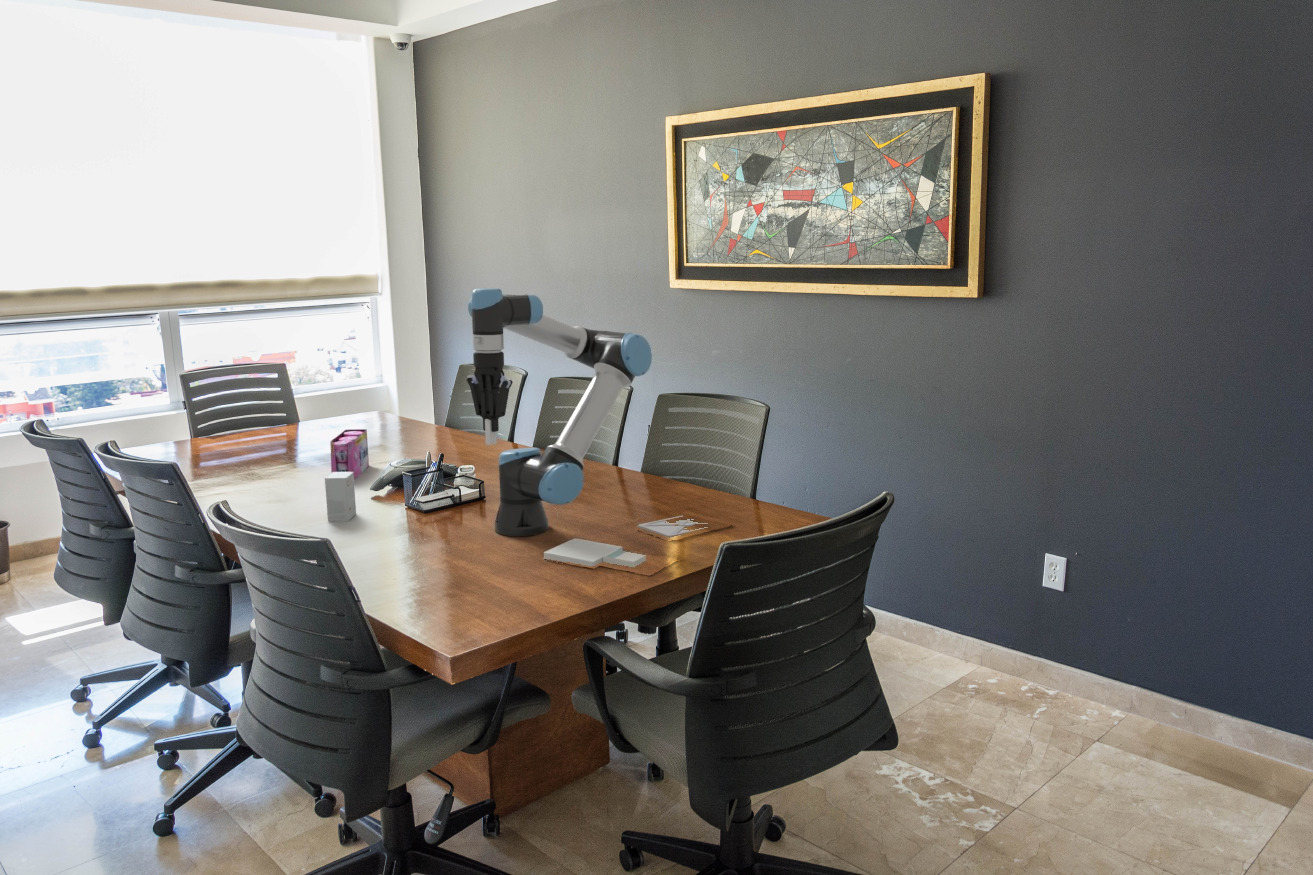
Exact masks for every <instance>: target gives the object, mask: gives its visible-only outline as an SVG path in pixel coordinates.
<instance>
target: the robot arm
mask: <svg viewBox="0 0 1313 875" xmlns="http://www.w3.org/2000/svg"><path fill="white" fill-rule="evenodd" d="M467 305H468V306H467V310H468V313H469V316H470V317H471V322H472V323H471V325H472V348H473V349H472V350H474V352H473V356H472V357H473V358H472V359H473V367H475V369H474V374H473V375H472V376H469V377H467V378H466V381H467V384H468V386H469V388H470V393H471V397H472V403H473V406H474V411H475V415H476V416H478V417H481V418H482V428H483V429H482V430H483V432H484V434H485V445H488V446H492V445H496V444H498V436H497V434H498V432H499V418H502V417H505V416H506V410H507V407H508V399H509V393H510V389H511V386H512V385H513V384H514V383H513V380H512V379H508V378H507V377H506V376H505V372H504V370H503V369H504V368H503V367H504V366H505V353H504V352H503V350H504V349H505V344H504V343H505V342H504V330H507V331H509V332H512V333H515V334H516V335H520V336H523V337H524V338H528V339H530V340H533V341H535V342H538V343H541V344H543V345H544V346H548V347H551V348H553V349H555V350H557V351H561V352H563V354H564V355H565V357H566V358H569V359H571V360H574V361H576V362H578V363H580V364H583V365H585V366H587V367H589V368H591V369H594V372H595V374H594V376H593V378H592V379H591V381H590V383H589V384H588V385H587V388H586V390H585V391H584V393H583V395H582V396H581V399H579V402H578V404H576V407H575V408H574V411H572V414H571V415H570V417H569V419H568V421H567V423H566V424H565V426H564V428H563V430H562V431H561V433H560V435H559V436H558V438H557V440H556V442H555V443H554V444H550V445H547V446H546V448H545V450H544V451H543V453H542V451H541V449H540V448H539V447H522V448H514V449H512V448H511V449H508V450H504V451H502V452H501V453H500V454H499V458H498V474H499V475H498V476H499V477H498V478H499V496H500V498H499V506H498V510H497V513H496V516H495V520H494V531H495V532H496V533H498V534H500V535H501V536H508V537H529V536H536V535H540V534H542V533H545V532H547V531H548V530H549V527H550V526H549V518H548V516H547V514H546V510H545V507H544V503H543V502H545V503H547V504H550V505H558V506H559V505H561V506H562V505H563V506H564V505H567V504H570V503H572V502H573V501H574V500H576V498H577V497H578V496H579V495H580V494H581V492H582V490H583V486H584V479H585V477H584V476H585V475H584V472H583V470H584V469H585V464H584V457H585V456H586V453H587V452H588V451H589V449H590V447H591V445H592V443H593V441H594V440H595V437H596V436H597V435H598V432H599V430H600V429H601V427H602V425H603V424H604V421H605V420H606V418H607V417H608V415H609V413H610V411H611V409H612V408H613V406H614V404H615V402H616V401H617V398H618V397H619V396H620V393H621V391H622V389H625V388H630V387H631V385H632V383H633V381H634V380H635V378H636V377H641V376H644V375H645V374H646V373H648V371H649V370H650V367H651V365H652V360H653V353H652V347H651V345H650V343H649V341H648V340H647V339H646V338H645V337H644V336H643V335H641V334H637V333H633V332H621V331H620V332H619V331H609V330H598V329H589V328H585V327H582V326H580V325H576V326H571V325H569V324H566V323H564V322H562V321H559V320H557V319H554V318H552V317H549V316H547V315H545V314H544V305H543V301H542V300H541V299H540V297H538V296H537V295H535V294H534V295H533V294H519V295H518V294H504V293H503V292H502V289H500V288H493V287H491V288H487V287H486V288H484V287H483V288H474V290H472V292H471V298H470V299H469V300H468V304H467Z"/></svg>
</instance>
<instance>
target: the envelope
mask: <svg viewBox="0 0 1313 875" xmlns="http://www.w3.org/2000/svg"><path fill="white" fill-rule="evenodd" d="M679 517H683V515H678V516H674V517H669V518H663V519H659V520H655V521H650V522H645V523H640V524H637V526H636V527H639V528H641V529H645V530H647V531H651V532H654V533H657V534H660V535H663V536H666V537H669V538H670V537H674V536H678V535H682V534H685V533H689V532H692V531H696V530H700V529H704V528H708V527H704V528H699V529H695V530H690V531H689V530H683V529H687V528H684V527H689V526H693V525H695V524H708V523H698V522H693V521H690V519H687V520H679V521H676V523H669V522H667V521H666V520H670V519H674V518H679ZM691 520H694V519H691ZM665 522H666V523H665ZM674 525H678V526H674Z"/></svg>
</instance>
